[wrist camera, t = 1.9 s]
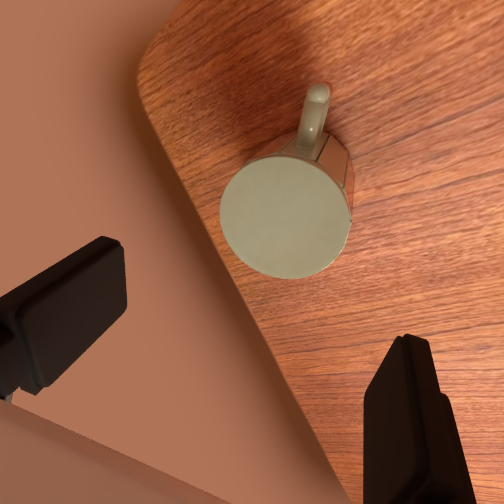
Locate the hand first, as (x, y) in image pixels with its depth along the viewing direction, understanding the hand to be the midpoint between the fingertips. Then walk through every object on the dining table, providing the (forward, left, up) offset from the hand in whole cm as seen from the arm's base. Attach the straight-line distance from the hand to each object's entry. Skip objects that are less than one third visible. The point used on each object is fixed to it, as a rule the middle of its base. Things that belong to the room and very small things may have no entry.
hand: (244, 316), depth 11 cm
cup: (0, +2, -15) cm, 15 cm away
